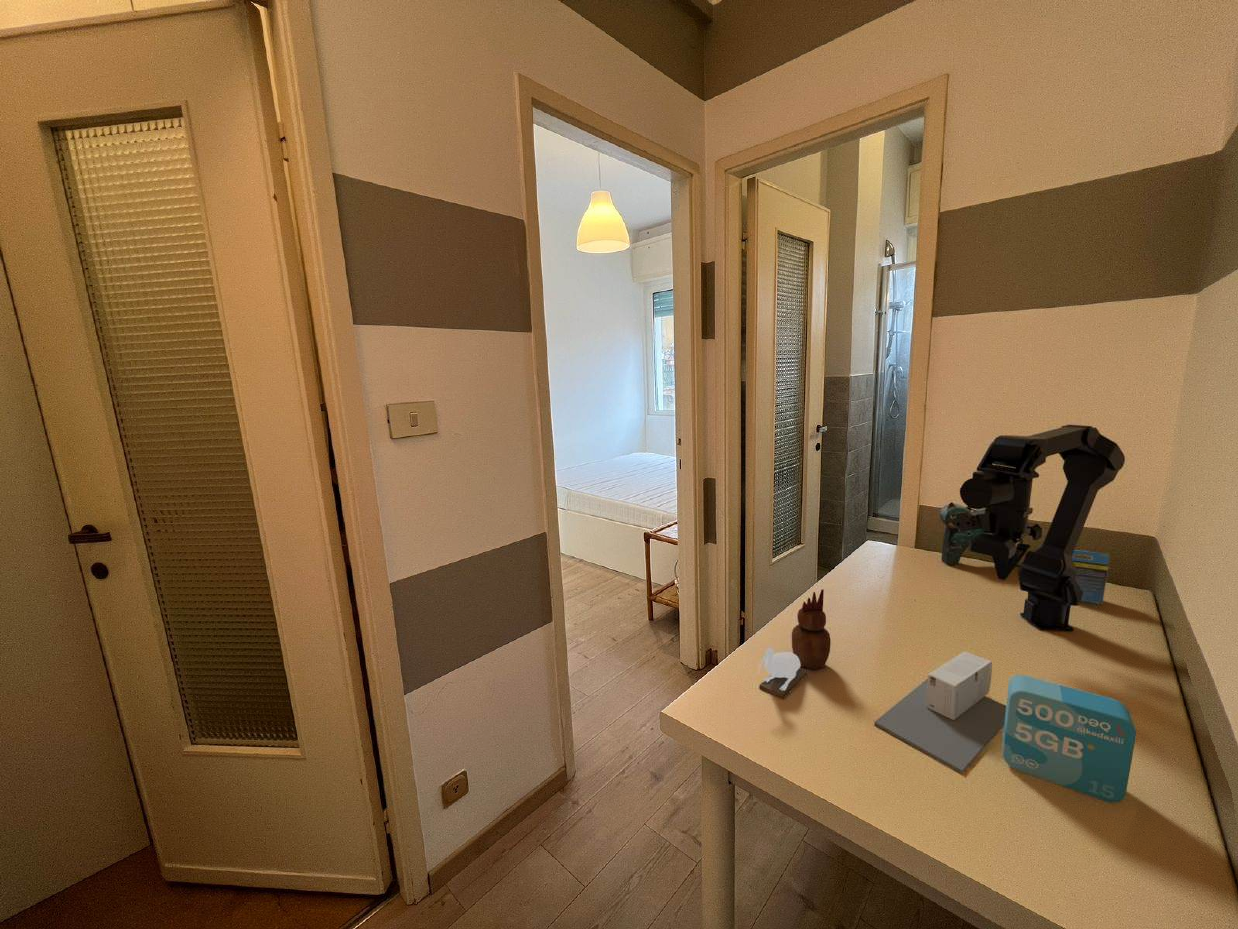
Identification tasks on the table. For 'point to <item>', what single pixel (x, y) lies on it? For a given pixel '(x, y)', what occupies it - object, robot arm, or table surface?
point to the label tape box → (1091, 575)
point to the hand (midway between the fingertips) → (1001, 579)
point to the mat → (944, 728)
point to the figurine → (781, 672)
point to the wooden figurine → (811, 634)
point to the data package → (1069, 737)
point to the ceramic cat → (956, 534)
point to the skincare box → (958, 684)
